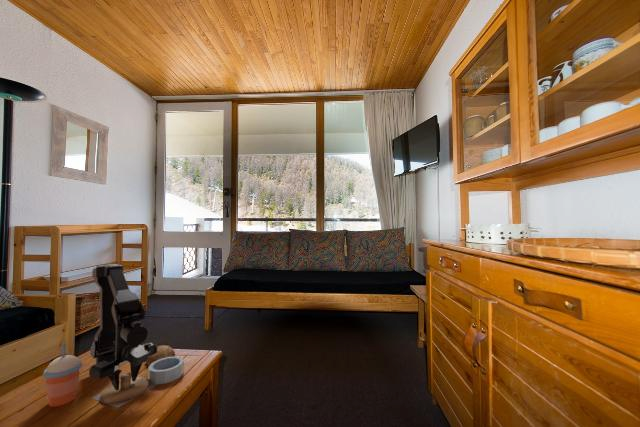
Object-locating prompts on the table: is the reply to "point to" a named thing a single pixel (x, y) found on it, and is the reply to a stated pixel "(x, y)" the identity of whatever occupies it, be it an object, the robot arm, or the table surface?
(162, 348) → the bread roll
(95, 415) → the table surface
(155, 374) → the bowl
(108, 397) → the lid
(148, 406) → the table surface
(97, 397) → the mat
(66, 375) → the cup with straw
